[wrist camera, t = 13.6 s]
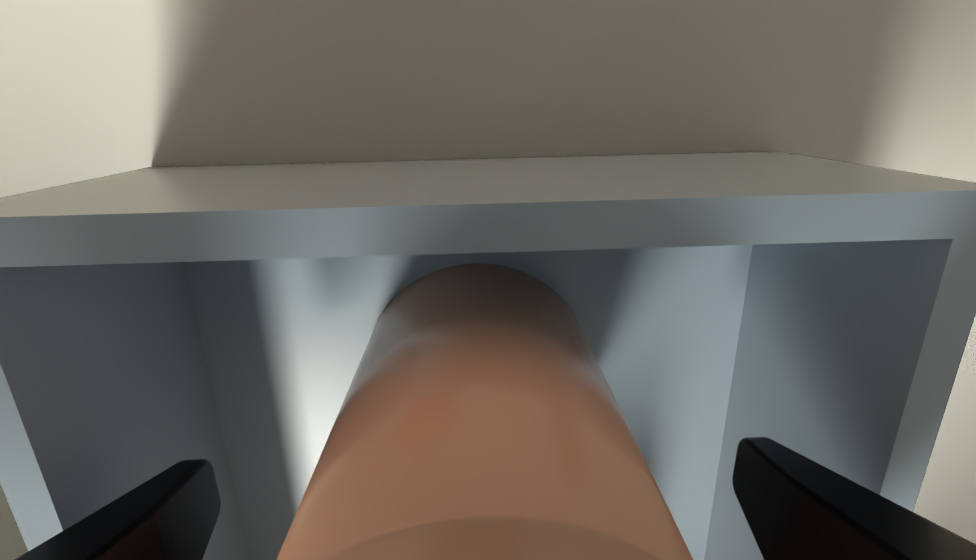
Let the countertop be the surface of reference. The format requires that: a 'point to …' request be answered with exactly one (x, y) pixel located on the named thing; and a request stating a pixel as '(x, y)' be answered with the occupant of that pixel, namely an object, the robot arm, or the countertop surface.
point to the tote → (483, 240)
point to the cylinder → (481, 438)
